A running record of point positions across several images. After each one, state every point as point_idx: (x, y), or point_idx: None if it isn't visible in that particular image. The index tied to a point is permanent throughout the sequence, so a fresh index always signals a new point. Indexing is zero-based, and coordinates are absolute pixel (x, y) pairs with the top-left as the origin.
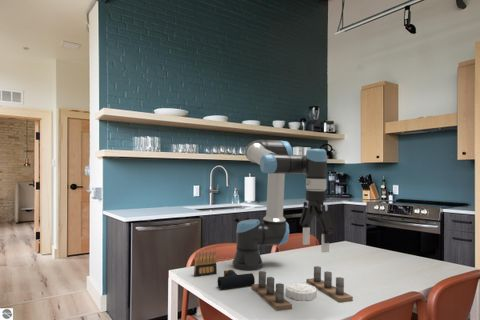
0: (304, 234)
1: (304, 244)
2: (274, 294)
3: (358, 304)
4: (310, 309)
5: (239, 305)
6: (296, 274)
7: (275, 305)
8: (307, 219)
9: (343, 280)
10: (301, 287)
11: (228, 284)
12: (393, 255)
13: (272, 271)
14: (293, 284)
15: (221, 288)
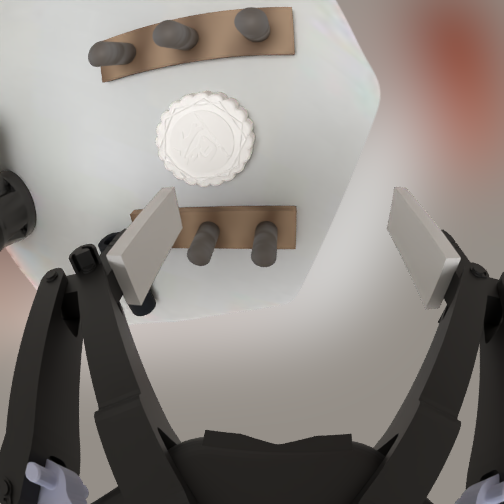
0: (158, 264)
1: (181, 223)
2: (216, 223)
3: (323, 13)
4: (315, 163)
5: (243, 295)
6: (49, 94)
7: (287, 248)
8: (142, 370)
9: (265, 14)
10: (207, 145)
11: (149, 295)
12: None
13: (32, 154)
14: (167, 153)
15: (155, 301)
